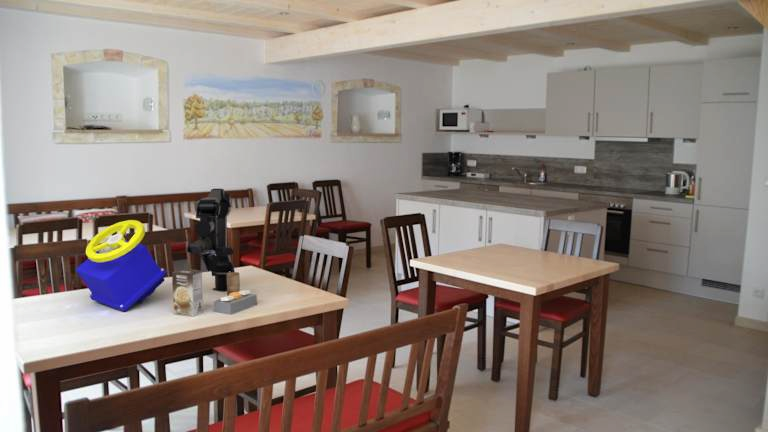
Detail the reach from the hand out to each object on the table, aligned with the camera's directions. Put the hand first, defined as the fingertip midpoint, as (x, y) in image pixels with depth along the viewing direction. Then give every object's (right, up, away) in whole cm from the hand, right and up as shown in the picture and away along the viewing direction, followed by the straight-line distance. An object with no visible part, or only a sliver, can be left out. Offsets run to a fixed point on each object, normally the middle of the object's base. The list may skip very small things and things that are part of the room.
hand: (210, 271), depth 246 cm
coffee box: (-5, -15, -10) cm, 19 cm away
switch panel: (+11, -14, -4) cm, 18 cm away
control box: (-33, -13, 0) cm, 35 cm away
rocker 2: (+13, -8, 0) cm, 15 cm away
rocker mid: (+11, -9, -4) cm, 14 cm away
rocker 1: (+9, -9, -8) cm, 15 cm away
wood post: (+6, -12, +11) cm, 17 cm away
